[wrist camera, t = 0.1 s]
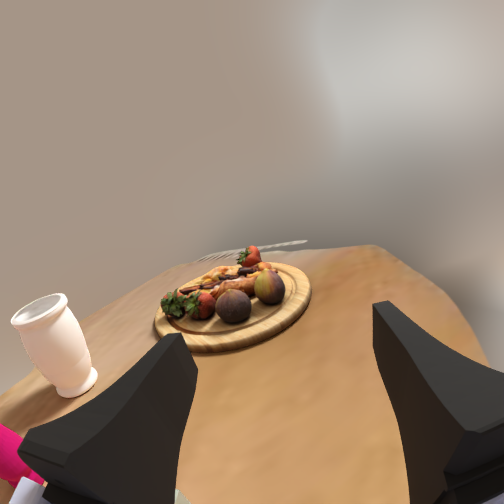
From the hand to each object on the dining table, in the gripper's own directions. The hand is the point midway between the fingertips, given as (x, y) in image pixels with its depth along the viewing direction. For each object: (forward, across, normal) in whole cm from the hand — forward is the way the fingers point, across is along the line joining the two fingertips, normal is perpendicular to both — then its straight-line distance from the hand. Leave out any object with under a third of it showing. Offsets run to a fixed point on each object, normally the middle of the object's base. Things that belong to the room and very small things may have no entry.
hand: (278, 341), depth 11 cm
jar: (+19, +38, +23) cm, 48 cm away
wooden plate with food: (+43, +14, +25) cm, 52 cm away
